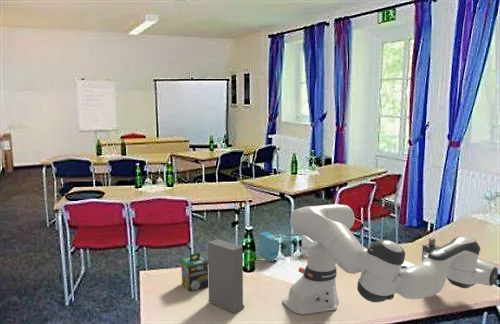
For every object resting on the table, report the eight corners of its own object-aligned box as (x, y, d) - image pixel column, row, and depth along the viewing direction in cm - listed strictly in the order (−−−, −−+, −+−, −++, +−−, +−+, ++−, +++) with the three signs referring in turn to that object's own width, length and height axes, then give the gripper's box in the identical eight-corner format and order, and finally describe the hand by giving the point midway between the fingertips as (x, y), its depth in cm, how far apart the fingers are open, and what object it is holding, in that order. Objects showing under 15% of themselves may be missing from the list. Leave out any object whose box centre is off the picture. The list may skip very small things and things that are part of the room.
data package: (278, 261, 230) (278, 237, 228) (270, 262, 228) (270, 239, 226) (266, 253, 240) (266, 230, 238) (258, 254, 238) (258, 232, 236)
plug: (430, 271, 195) (432, 241, 193) (421, 267, 200) (423, 238, 198) (439, 269, 198) (441, 239, 196) (429, 265, 202) (431, 236, 200)
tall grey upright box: (244, 308, 182) (244, 246, 177) (233, 313, 177) (233, 250, 173) (219, 297, 191) (218, 238, 187) (208, 302, 186) (207, 242, 182)
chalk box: (200, 279, 208) (200, 247, 206) (209, 287, 200) (208, 254, 198) (181, 283, 204) (180, 251, 201) (188, 291, 196) (188, 258, 193)
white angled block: (295, 246, 243) (303, 233, 240) (310, 258, 240) (319, 245, 237) (292, 248, 240) (300, 235, 237) (308, 260, 237) (316, 247, 234)
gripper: (439, 275, 182) (411, 263, 194) (473, 265, 192) (445, 254, 204) (440, 259, 181) (412, 248, 193) (474, 250, 191) (446, 240, 203)
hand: (429, 251), depth 198 cm, fingers closed on plug, 5 cm apart
